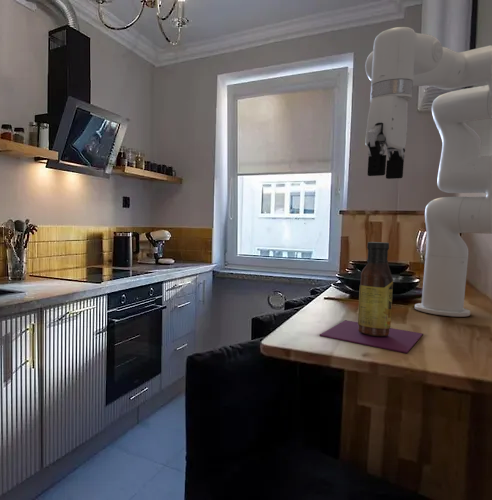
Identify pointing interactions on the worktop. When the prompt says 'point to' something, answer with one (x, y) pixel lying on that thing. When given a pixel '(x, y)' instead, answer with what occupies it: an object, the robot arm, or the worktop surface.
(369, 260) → the sauce bottle
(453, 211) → the robot arm
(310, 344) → the worktop surface
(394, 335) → the cloth
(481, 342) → the worktop surface
